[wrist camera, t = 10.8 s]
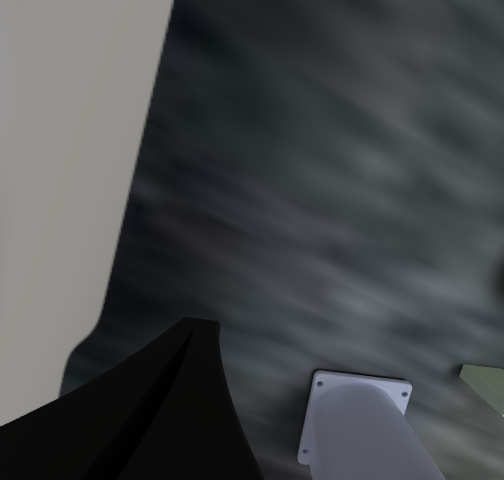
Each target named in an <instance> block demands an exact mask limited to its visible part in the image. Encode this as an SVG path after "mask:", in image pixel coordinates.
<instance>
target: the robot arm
mask: <svg viewBox="0 0 504 480" xmlns="http://www.w3.org/2000/svg"><path fill="white" fill-rule="evenodd" d="M219 333H220V323H219V322H218V321H213V320H205V319H197V318H188V317H184V318H183V319H181V320H180V321H179V322H177V323H176V324H175V325H173V326H172V327H171V328H169V329H168V330H167V331H166V332H164V333H163V334H162V335H160V336H159V337H158V338H156V339H155V340H153V341H152V342H151V343H149V344H148V345H147V346H145V347H144V348H142V349H141V350H140V351H138V352H137V353H135V354H134V355H132V356H130V357H129V358H127V359H126V360H124V361H123V362H121V363H120V364H118V365H117V366H115V367H114V368H112V369H110V370H109V371H107V372H106V373H104V374H102V375H100V376H99V377H97V378H95V379H94V380H92V381H90V382H88V383H86V384H85V385H83V386H81V387H79V388H77V389H76V390H74V391H72V392H70V393H68V394H66V395H64V396H62V397H60V398H58V399H56V400H54V401H52V402H50V403H48V404H46V405H44V406H42V407H40V408H38V409H36V410H34V411H32V412H30V413H28V414H26V415H24V416H22V417H20V418H17V419H15V420H13V421H11V422H9V423H7V424H5V425H3V426H0V480H265V479H264V477H263V475H262V473H261V470H260V468H259V466H258V464H257V461H256V459H255V457H254V455H253V453H252V450H251V448H250V446H249V444H248V441H247V439H246V437H245V435H244V432H243V429H242V427H241V424H240V422H239V419H238V416H237V414H236V411H235V408H234V405H233V402H232V399H231V396H230V393H229V389H228V386H227V382H226V378H225V374H224V370H223V365H222V360H221V354H220V347H219ZM320 381H321V382H320ZM318 382H320V383H318ZM411 391H412V386H411V385H410V384H409V382H407V381H404V380H395V379H387V378H379V377H371V376H362V375H354V374H346V373H338V372H329V371H317V372H315V374H314V378H313V382H312V387H311V392H310V397H309V402H308V407H307V411H306V416H305V421H304V426H303V431H302V436H301V440H300V445H299V450H298V455H297V457H298V462H299V463H301V464H304V465H309V466H310V471H311V477H312V480H446V479H445V478H444V476H443V475H442V473H441V472H440V470H439V469H438V467H437V466H436V464H435V463H434V461H433V460H432V458H431V457H430V455H429V454H428V452H427V451H426V449H425V448H424V446H423V444H422V443H421V441H420V440H419V438H418V437H417V435H416V434H415V432H414V431H413V429H412V428H411V426H410V425H409V423H408V422H407V420H406V419H405V417H404V413H405V410H406V407H407V403H408V400H409V397H410V394H411Z"/></svg>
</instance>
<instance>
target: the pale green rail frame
mask: <svg viewBox="0 0 504 480" xmlns="http://www.w3.org/2000/svg"><path fill="white" fill-rule="evenodd" d="M459 377H460V378H461V379H462V380H463V381H465V382H466V383H467V384H468V385H469V386H470V387H471V388H472V389H473V390H474V391H476V392H477V393H478V394H479V395H480V396H481V397H482V398H483V399H484V400H485V401H487V402H488V403H489V404H490V405H491V406H492V407H493V408H494V409H495V410H496V411H498V412H499V413H500V414H501V415H502V416H504V369H500V368H492V367H483V366H475V365H467V364H463V367H462V370H461V373H460V376H459Z"/></svg>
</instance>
